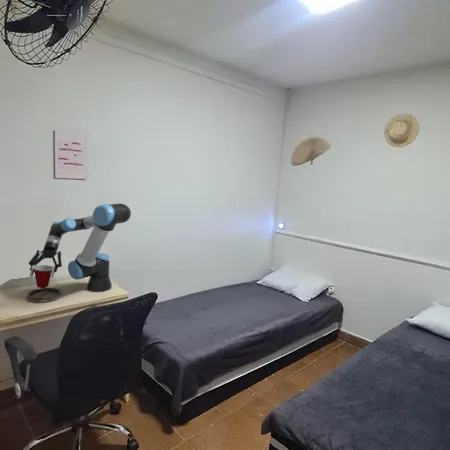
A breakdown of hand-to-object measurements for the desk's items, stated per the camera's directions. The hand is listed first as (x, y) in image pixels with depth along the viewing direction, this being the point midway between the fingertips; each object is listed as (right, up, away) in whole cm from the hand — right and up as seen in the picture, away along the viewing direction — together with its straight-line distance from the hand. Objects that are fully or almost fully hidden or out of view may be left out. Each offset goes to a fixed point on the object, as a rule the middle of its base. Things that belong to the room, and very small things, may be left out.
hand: (41, 276), depth 193 cm
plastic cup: (-1, -7, +4) cm, 8 cm away
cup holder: (-1, -13, +5) cm, 14 cm away
